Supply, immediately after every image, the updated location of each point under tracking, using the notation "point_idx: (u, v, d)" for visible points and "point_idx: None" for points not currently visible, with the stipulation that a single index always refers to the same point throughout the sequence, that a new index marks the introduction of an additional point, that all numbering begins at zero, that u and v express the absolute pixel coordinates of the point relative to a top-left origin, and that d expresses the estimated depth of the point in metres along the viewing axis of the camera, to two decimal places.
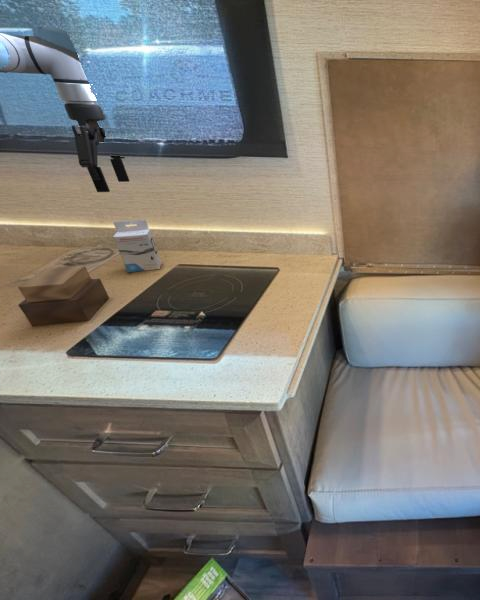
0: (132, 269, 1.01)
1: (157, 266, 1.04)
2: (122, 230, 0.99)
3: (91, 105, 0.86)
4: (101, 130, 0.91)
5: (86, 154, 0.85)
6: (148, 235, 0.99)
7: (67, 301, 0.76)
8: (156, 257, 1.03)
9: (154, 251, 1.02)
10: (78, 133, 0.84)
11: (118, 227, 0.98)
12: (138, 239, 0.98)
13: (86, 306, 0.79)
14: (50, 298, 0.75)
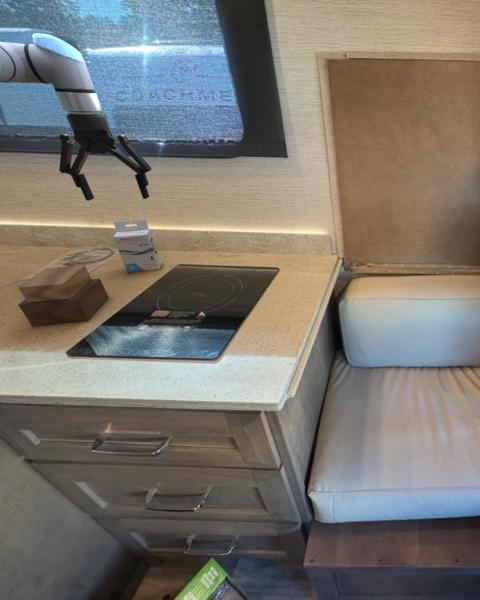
0: (132, 269, 1.01)
1: (157, 266, 1.04)
2: (122, 230, 0.99)
3: None
4: None
5: (144, 160, 0.92)
6: (148, 235, 0.99)
7: (67, 301, 0.76)
8: (156, 257, 1.03)
9: (154, 251, 1.02)
10: (126, 142, 0.88)
11: (118, 227, 0.98)
12: (138, 239, 0.98)
13: (86, 306, 0.79)
14: (50, 298, 0.75)
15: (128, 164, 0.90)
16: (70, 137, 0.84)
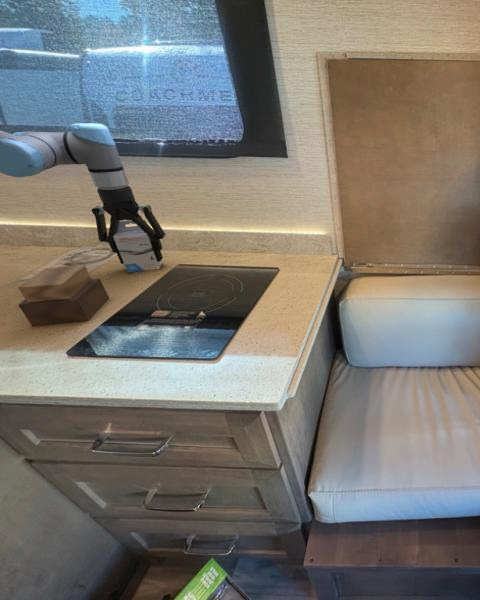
0: (132, 269, 1.01)
1: (157, 266, 1.04)
2: (122, 230, 0.99)
3: None
4: None
5: (160, 228, 1.00)
6: None
7: (67, 301, 0.76)
8: None
9: None
10: (149, 212, 0.97)
11: (118, 227, 0.98)
12: (138, 239, 0.98)
13: (86, 306, 0.79)
14: (50, 298, 0.75)
15: (146, 231, 0.98)
16: (100, 209, 0.93)
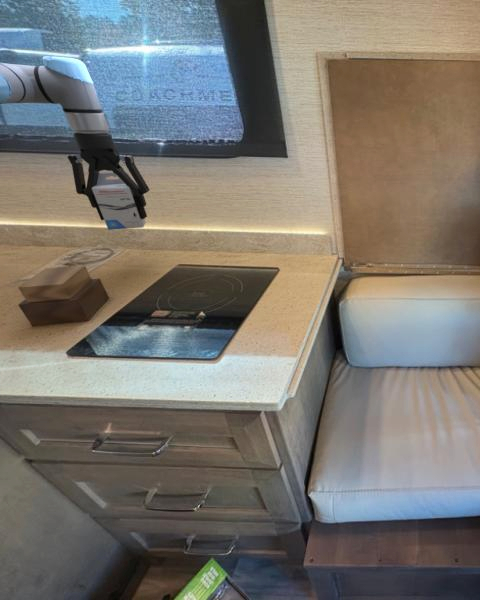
0: (113, 226, 0.94)
1: (140, 224, 0.96)
2: (102, 183, 0.92)
3: None
4: None
5: (144, 181, 0.93)
6: (130, 189, 0.92)
7: (67, 301, 0.76)
8: None
9: None
10: (131, 163, 0.90)
11: None
12: (119, 192, 0.91)
13: (86, 306, 0.79)
14: (50, 298, 0.75)
15: (128, 184, 0.91)
16: (77, 156, 0.86)
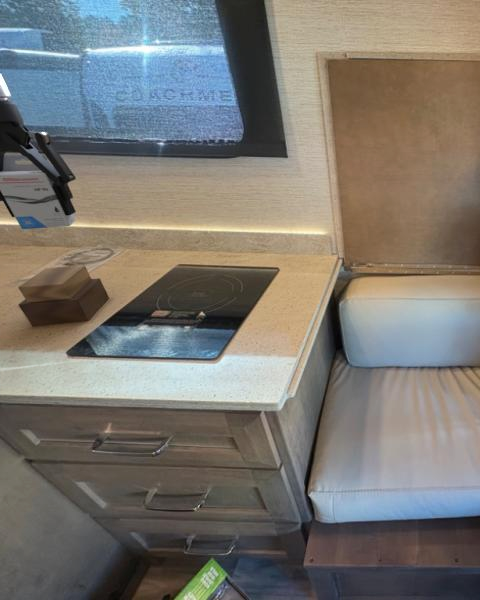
0: (29, 224, 0.73)
1: (66, 222, 0.76)
2: (11, 169, 0.71)
3: None
4: None
5: (67, 167, 0.73)
6: None
7: (67, 301, 0.76)
8: None
9: None
10: (46, 142, 0.69)
11: (4, 164, 0.70)
12: (32, 180, 0.70)
13: (86, 306, 0.79)
14: (50, 298, 0.75)
15: (44, 170, 0.70)
16: None
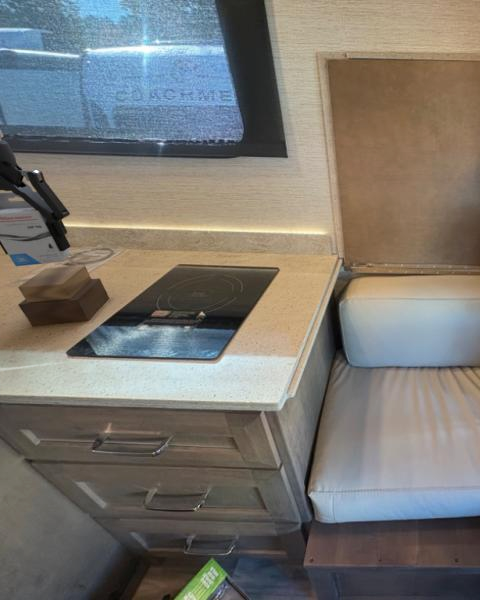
0: (22, 261, 0.72)
1: (60, 258, 0.75)
2: (4, 206, 0.70)
3: None
4: None
5: (60, 203, 0.72)
6: None
7: (67, 301, 0.76)
8: None
9: None
10: (39, 180, 0.68)
11: None
12: (25, 219, 0.69)
13: (86, 306, 0.79)
14: (50, 298, 0.75)
15: (37, 208, 0.69)
16: None
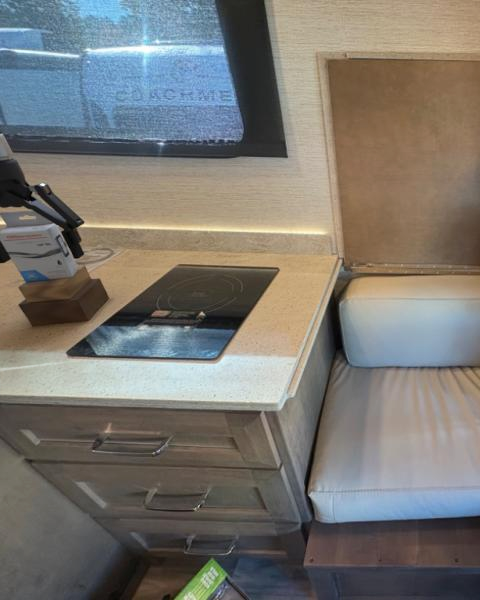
0: (32, 277, 0.74)
1: (68, 273, 0.77)
2: (15, 224, 0.72)
3: None
4: None
5: (73, 213, 0.73)
6: (51, 231, 0.73)
7: (67, 301, 0.76)
8: (66, 261, 0.76)
9: (63, 253, 0.75)
10: (47, 192, 0.69)
11: (8, 220, 0.71)
12: (35, 237, 0.71)
13: (86, 306, 0.79)
14: (50, 298, 0.75)
15: (51, 219, 0.71)
16: None
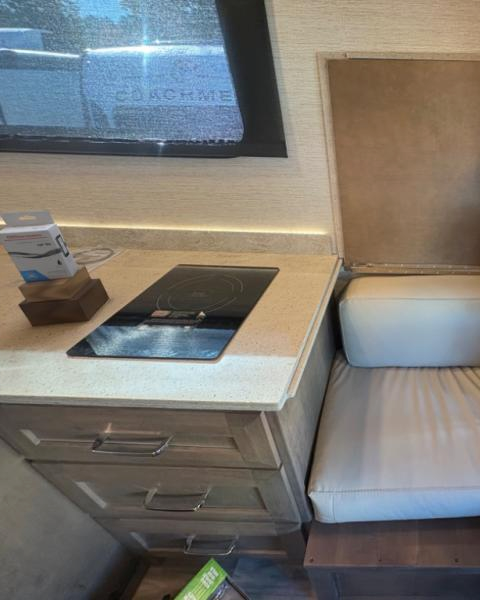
0: (32, 277, 0.74)
1: (68, 273, 0.77)
2: (15, 224, 0.72)
3: None
4: None
5: None
6: (51, 231, 0.73)
7: (67, 301, 0.76)
8: (66, 261, 0.76)
9: (63, 253, 0.75)
10: None
11: (8, 220, 0.71)
12: (35, 237, 0.71)
13: (86, 306, 0.79)
14: (50, 298, 0.75)
15: None
16: None
